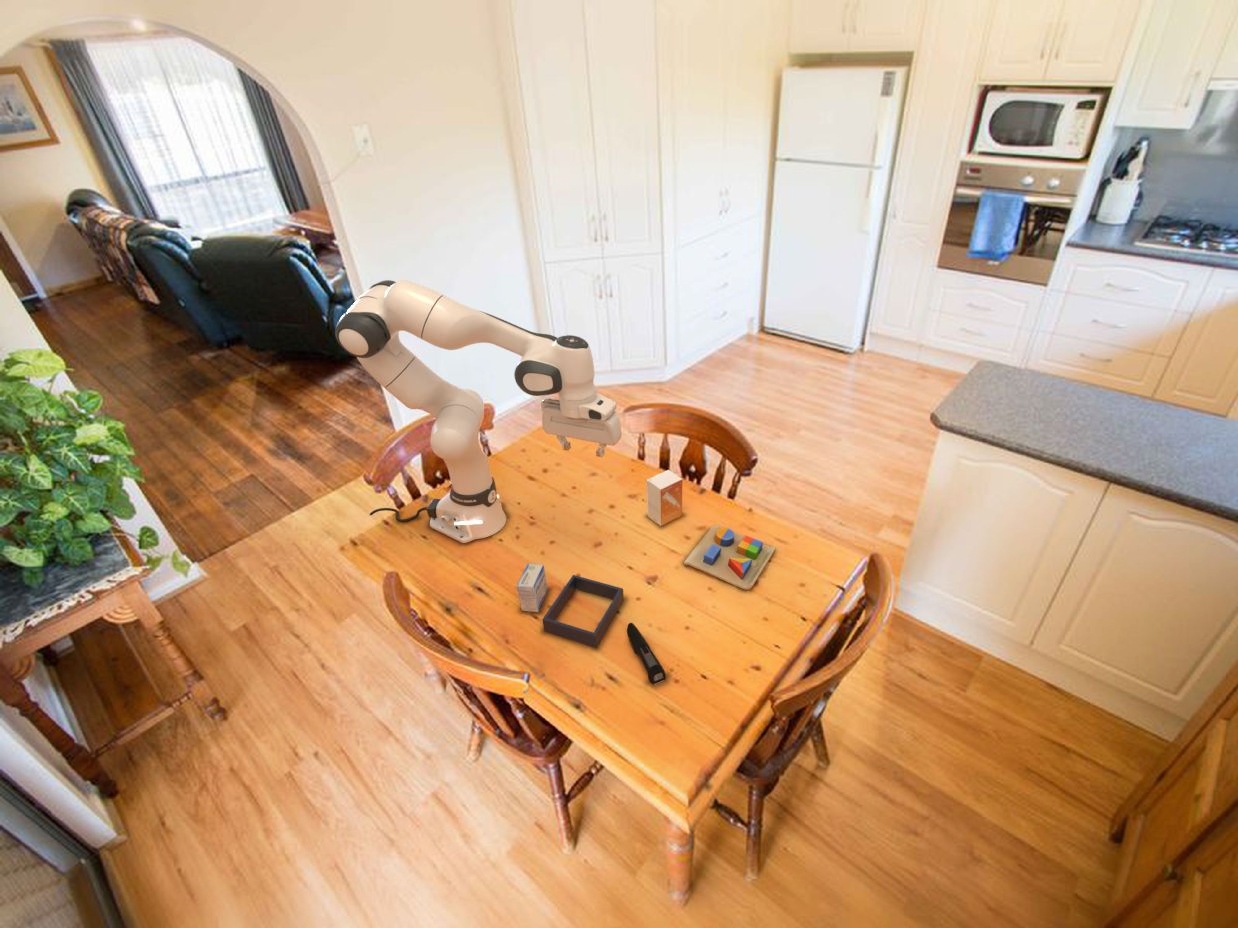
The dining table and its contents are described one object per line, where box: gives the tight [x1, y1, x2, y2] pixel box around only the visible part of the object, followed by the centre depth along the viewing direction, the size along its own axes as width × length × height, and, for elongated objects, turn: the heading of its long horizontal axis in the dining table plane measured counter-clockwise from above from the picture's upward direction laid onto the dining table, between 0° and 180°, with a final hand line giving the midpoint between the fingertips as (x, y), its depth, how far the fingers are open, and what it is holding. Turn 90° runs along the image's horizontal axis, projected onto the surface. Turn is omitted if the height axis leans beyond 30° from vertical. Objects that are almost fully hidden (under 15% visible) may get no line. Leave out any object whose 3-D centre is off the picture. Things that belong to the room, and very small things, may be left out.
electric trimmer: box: [626, 622, 667, 685], centre depth 134 cm, size 4×16×3 cm, turn 22°
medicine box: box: [516, 563, 549, 613], centre depth 148 cm, size 8×4×9 cm, turn 168°
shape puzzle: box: [683, 524, 776, 591], centre depth 158 cm, size 18×19×4 cm
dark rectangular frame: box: [541, 574, 625, 648], centre depth 145 cm, size 14×16×4 cm
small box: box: [646, 469, 683, 527], centre depth 172 cm, size 8×6×13 cm
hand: (583, 452), depth 152 cm, fingers open, 8 cm apart
